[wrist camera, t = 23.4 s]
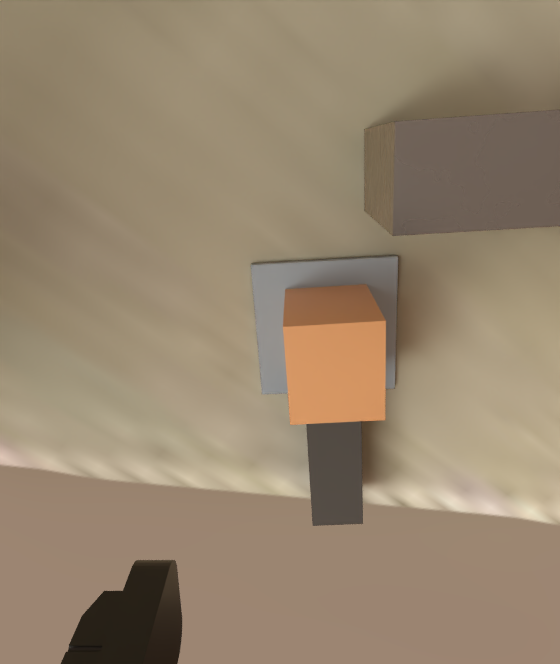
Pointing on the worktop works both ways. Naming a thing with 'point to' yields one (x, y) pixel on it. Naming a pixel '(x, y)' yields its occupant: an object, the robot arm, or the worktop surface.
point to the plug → (334, 388)
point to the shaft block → (464, 173)
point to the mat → (317, 273)
